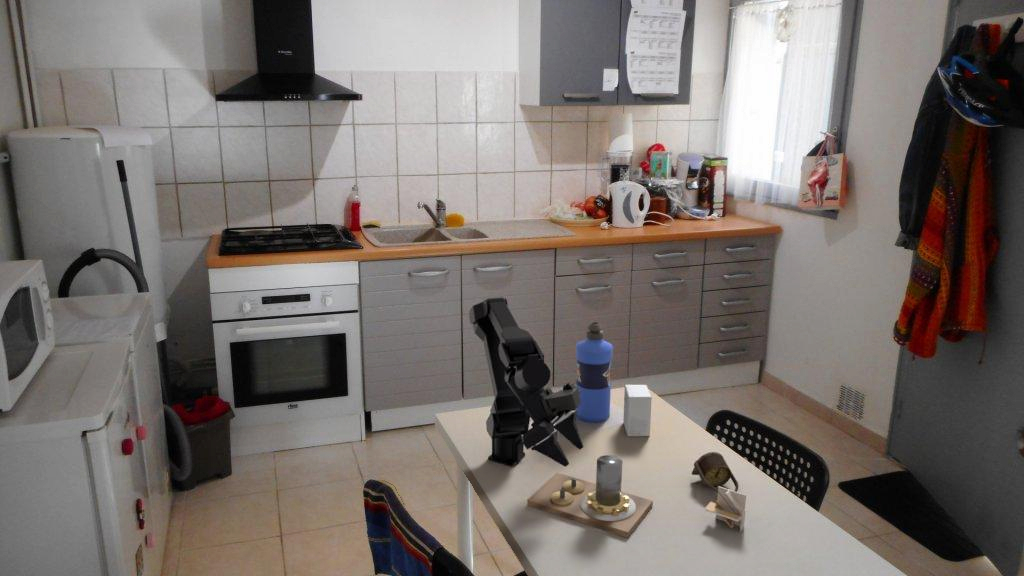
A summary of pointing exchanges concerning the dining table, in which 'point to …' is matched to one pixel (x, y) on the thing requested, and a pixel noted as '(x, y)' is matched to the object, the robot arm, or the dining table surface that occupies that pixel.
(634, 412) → the small box
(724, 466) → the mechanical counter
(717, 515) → the architectural model
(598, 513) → the loose gear
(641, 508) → the gear board
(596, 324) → the water bottle
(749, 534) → the dining table surface
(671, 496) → the dining table surface
